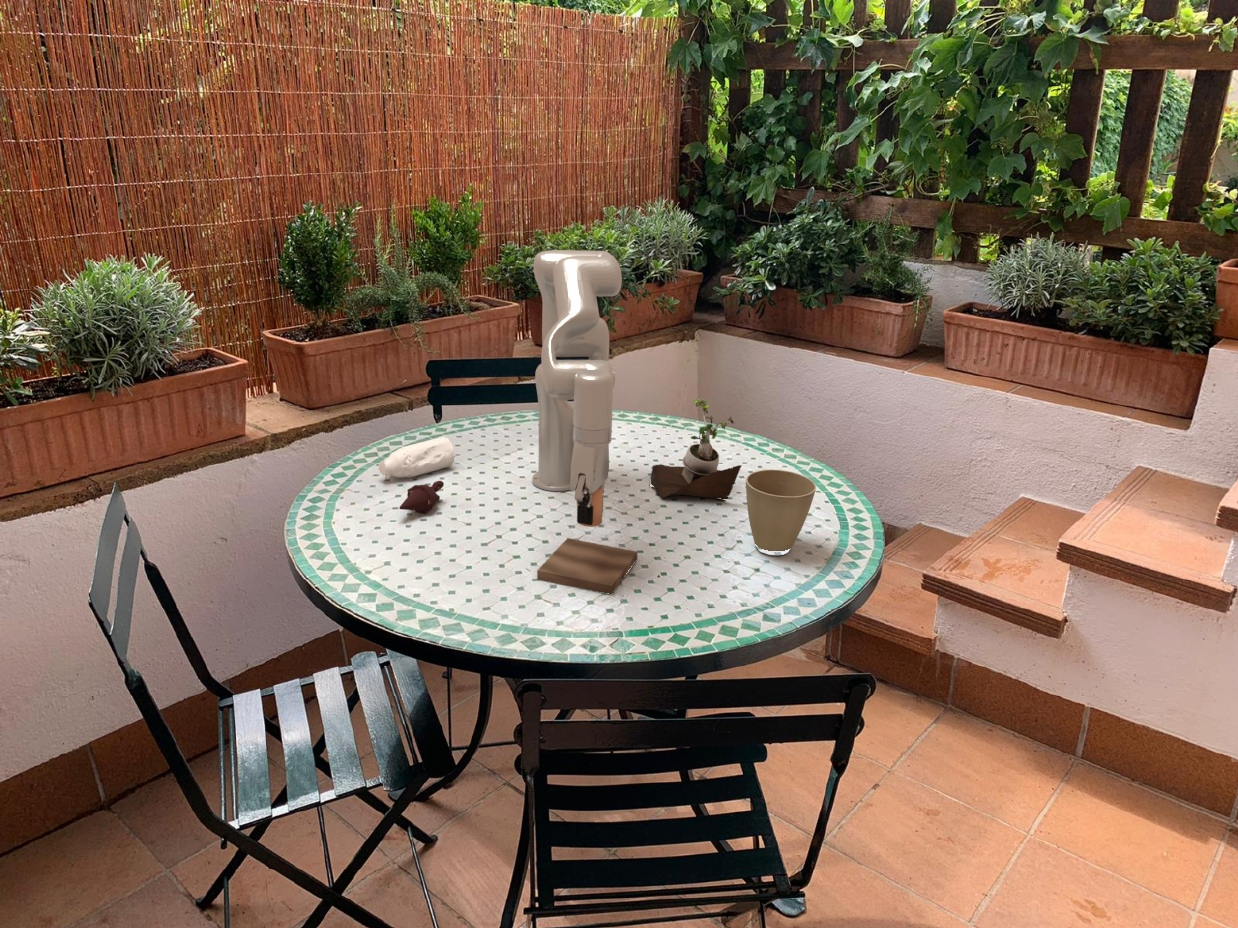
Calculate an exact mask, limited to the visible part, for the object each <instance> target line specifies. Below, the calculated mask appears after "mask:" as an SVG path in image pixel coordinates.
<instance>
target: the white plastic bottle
mask: <svg viewBox="0 0 1238 928" xmlns="http://www.w3.org/2000/svg"><path fill="white" fill-rule="evenodd" d="M455 457H456V455H455V451H454V445H453V444H452V442H451V440H449V439H448V438H447V437H443V436H440V437H439V438H438V437H437V438H434V439H430V440H426V441H421V442H417V443H414V444H410V445H405V446H402V447H399V448H398V449H397V450H395V451H392V452H391V453H390V454H389V455H388V458H386V459H385V460H384V459H383V460H382V461H380V462H378V464H377V465H378V470H379V473H380V474H382V476H384V478H385V479H390V477H391V476H393V477H395V478H398V479H399V478H404V479H405V478H408V479H410V478H413V477H417V476H421V475H425V474H429V473H432V472H436V471H439V470H442V469H446V468H451V467H452V466H453V464H454V463H455Z"/></svg>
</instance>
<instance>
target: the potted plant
mask: <svg viewBox="0 0 1238 928" xmlns="http://www.w3.org/2000/svg"><path fill="white" fill-rule="evenodd" d="M694 404H695V406H696V407H699V408H701V409H702V414H703V417H702V418H703V422H704V426H701V427H699V431H698V432H699V433H698V434H699V435H698V436H696V435H692V436H690V439H691V440H699V443H695V444H691V445H690V446H689V447H688V448H687V450H686V453H685V455H684V456H683V457H682V461H681V462H682V465H683V466H681V465H680V466H670V465H664V464H661V463H660V464H653V465H652V467H651V470H652V471H651V474H650V479H651V484H652V485H653V486H654V487H655V489H656V490H655V489H654V490H655V491H656V494H657V493H658V494H659V495H658V494H657V495H658V496H659V497H660V498H665V497H668V496H672V495H683V496H694V497H703V498H708V497H710V499H714V498H721V499H729V496H730V495H731V493H732V490H733V488H734V485H735V482H736V480H737V477H738V475H739V472H740V471H741V468H742V464H738V465H736V466H733V467H729V468H726V469H721V470H719V469H718V466H719V463H720V462H719V461H720V454H719V452H718V451H717V450H716V448H714V447H713V446H712V443H711V441H710V436H712V437H711V439H713V440H714V439H716V437H717V435H718V432H717V430H718V429H719V428H720V427H721V429H723V430H726V428H727V426H728V425H729V424H732V425H733V424H734V419H732V416H730V417H729V418H728V419H727V422H725V423H724V422H722V421H719V423H716V424H715V427H714V426H713V425H714V424H713V420H714V417H713V416H712V415H710V417H709V415H706V414H709V411H708V409H709V407H710V406H709V405H707V401H706V400H705V398H701V399H700V398H699V399H695V400H694ZM707 419H710V424H709V423H707V421H706V420H707Z"/></svg>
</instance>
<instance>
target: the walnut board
mask: <svg viewBox="0 0 1238 928" xmlns="http://www.w3.org/2000/svg"><path fill="white" fill-rule="evenodd" d="M636 560H637V561H638V551H637V550H632V549H631V550H630V549H626V548H621V547H617V546H611V545H605V544H601V543H595V542H590V541H584V540H580V539H575V538H570V537H569V538H568V537H566V539H565V540H564V541H563V542H562V543H561V544H560V545H559V546H558V547H557V549H555V551H554V552H553V553H552V554H551V555H550V556H549V557H548V558H547V559H546V561H544V563H542V565H541V566H540V567H539V568H538V569H537V572H536V577H537V578H536V579H537V580H539V581H545V582H550V583H554V584H557V585H563V586H567V587H573V588H578V589H581V590H586V591H591V590H592V592H596V591H598V592H597V593H600V592H604V593H603V594H605V593H609V594H608V595H610V594H612V593H613V594H614V592H615V591H616V590H617V588H618V587H619V586H620V584H621V583H622V581H623V580H624V579H625V577H626V576H627V575H626V573H627V572H628V570H629V569H630V568H631V566H632V565H633V563H634V562H635V561H636ZM637 561H636V562H637ZM636 562H635V563H636ZM633 566H634V565H633ZM633 566H632V567H633ZM631 569H632V568H631ZM631 569H630V570H631ZM630 570H629V571H630ZM628 573H629V572H628ZM628 573H627V574H628ZM625 575H626V576H625ZM624 576H625V577H624ZM623 578H624V579H623ZM622 579H623V580H622ZM621 580H622V581H621ZM620 582H621V583H620ZM619 583H620V584H619ZM617 586H618V587H617ZM615 589H616V590H615ZM614 590H615V591H614ZM613 591H614V592H613ZM613 594H612V595H613Z"/></svg>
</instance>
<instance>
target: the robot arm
mask: <svg viewBox="0 0 1238 928" xmlns="http://www.w3.org/2000/svg"><path fill="white" fill-rule="evenodd" d="M532 267H533V274H534V278H535V281H536V284H537V286H538V289H539V292H540V295H541V300H542V313H541V314H542V315H541V316H542V319H541V321H542V323H541V327H542V328H541V331H542V332H541V335H542V336H541V341H542V347H541V353H540V354H541V355H540V357H541V363H540V364H538V366H537V367H536V370H535V373H534V374H535V377H534V378H535V380H534V381H535V387H536V393H537V401H538V403H537V405H538V471H537V472H535V473H534V474H533V475H532V478H531V479H532V481H531V482H532V484H533V485H534V486H535V487H537V488H539V489H541V490H544V491H551V492H566V491H572V492H575V493H574V497H573V498H574V500H576V509H577V510H576V513H577V514H576V522H577V524H579V523H581V524H586V525H592V524H593V506H591V505H592V497H593V493H594V492H595V491H596V490H597V489H598V488H599V487H602V488H603V495H604V494H605V486H604V484H605V482H606V481H607V480H608V477H609V471H610V470H609V469H610V455H609V454H610V447H609V446H610V443H612V434H613V433H612V431H613V430H612V429H613V428H612V427H613V402H614V388H615V385H616V372H615V368H614V367H613V366H612V365H611V363H610V362H609V358H610V356H609V355H610V331H609V327H608V324H607V322H606V320H604V319H603V318H602V317H600V313H599V305H598V300H597V297H614V296H617V295H618V294H619V292H620V291H621V288H622V284H623V283H622V282H623V277H622V276H623V275H622V269H621V266H620V264H619V261H618V259H616V257H615V256H613V255H612V254H611V253H610V252H608V251H605V250H577V249H576V250H572V249H571V250H570V249H567V250H565V249H555V250H553V249H551V250H544V251H540V252H539V253H537V254H536V255H535V256H534V259H533V266H532ZM557 357H559V358H577V357H581V358H585V357H587V358H588V359H557ZM570 400H573V406H572V405H571V404H570V403H569V402H568V401H570ZM585 488H589V491H586V490H584V489H585ZM583 494H587V495H588V500H587V498H586V497H584V495H583ZM603 513H604V511H603V512H602V514H603Z"/></svg>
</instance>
